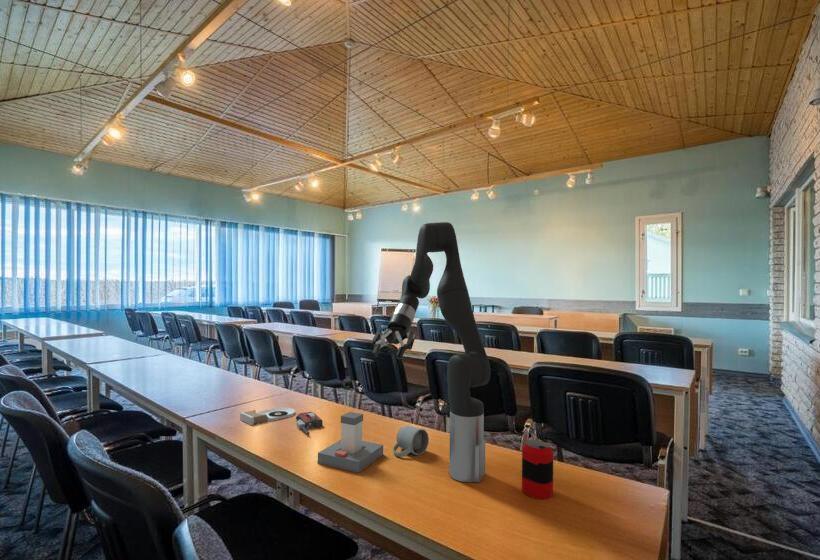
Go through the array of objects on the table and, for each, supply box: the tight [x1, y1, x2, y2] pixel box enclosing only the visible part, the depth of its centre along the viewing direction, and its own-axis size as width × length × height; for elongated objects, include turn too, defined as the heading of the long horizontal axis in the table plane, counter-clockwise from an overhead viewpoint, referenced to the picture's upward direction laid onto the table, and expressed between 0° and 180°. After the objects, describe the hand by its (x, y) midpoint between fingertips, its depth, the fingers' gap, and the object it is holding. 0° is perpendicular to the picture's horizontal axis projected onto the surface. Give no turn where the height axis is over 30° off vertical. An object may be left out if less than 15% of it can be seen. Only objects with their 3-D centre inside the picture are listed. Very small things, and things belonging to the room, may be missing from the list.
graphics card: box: [239, 407, 296, 426], centre depth 162 cm, size 12×3×20 cm
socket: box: [317, 439, 384, 474], centre depth 123 cm, size 14×14×4 cm
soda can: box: [521, 439, 554, 500], centre depth 105 cm, size 8×8×12 cm
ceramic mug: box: [392, 425, 430, 458], centre depth 129 cm, size 11×8×8 cm
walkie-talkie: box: [295, 411, 323, 435], centre depth 151 cm, size 9×4×20 cm
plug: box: [340, 411, 364, 454], centre depth 123 cm, size 5×5×13 cm
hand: (386, 357), depth 135 cm, fingers open, 8 cm apart
